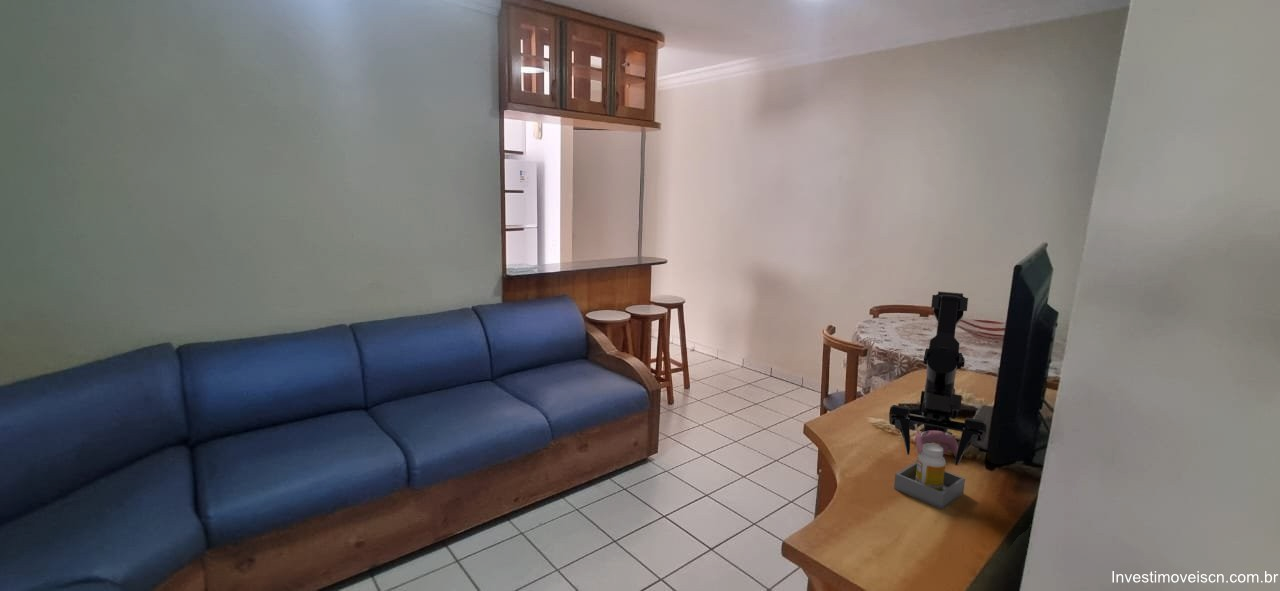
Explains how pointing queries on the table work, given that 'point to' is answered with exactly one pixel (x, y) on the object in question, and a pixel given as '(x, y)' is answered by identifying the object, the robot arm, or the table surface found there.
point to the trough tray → (908, 485)
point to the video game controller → (937, 441)
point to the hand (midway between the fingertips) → (931, 459)
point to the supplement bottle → (931, 466)
